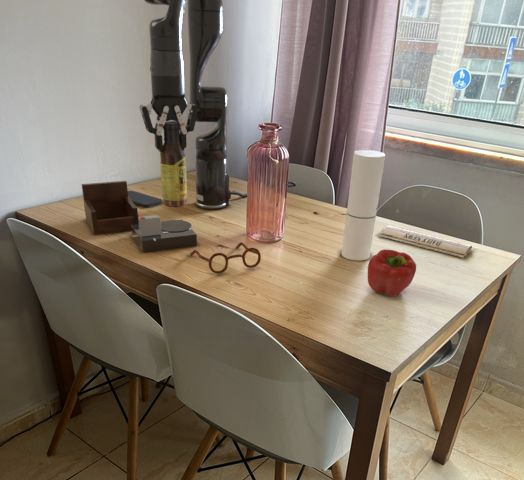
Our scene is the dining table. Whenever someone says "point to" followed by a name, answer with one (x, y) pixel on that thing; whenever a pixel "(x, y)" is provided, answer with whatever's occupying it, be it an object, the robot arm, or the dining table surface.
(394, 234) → the newspaper
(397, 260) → the vegetable
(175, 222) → the burner ring
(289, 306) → the dining table surface
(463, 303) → the dining table surface
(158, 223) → the knob
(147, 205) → the phone
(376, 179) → the cylindrical container
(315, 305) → the dining table surface
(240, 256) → the glasses
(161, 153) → the sauce bottle
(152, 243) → the hob
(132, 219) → the spice rack
